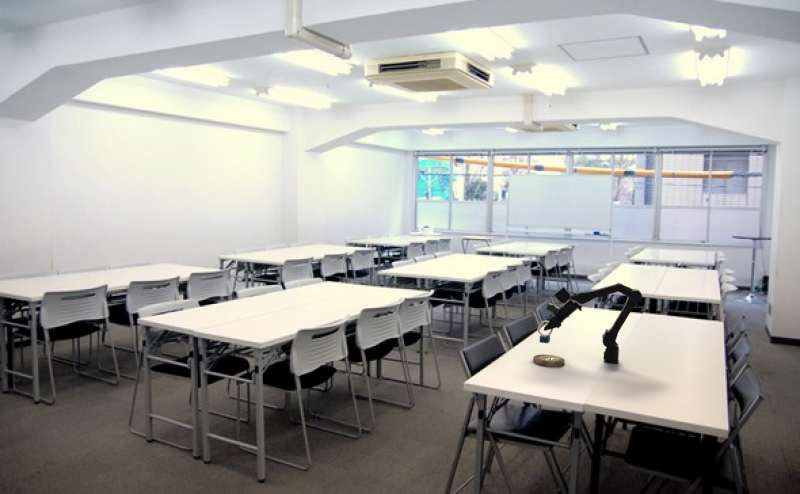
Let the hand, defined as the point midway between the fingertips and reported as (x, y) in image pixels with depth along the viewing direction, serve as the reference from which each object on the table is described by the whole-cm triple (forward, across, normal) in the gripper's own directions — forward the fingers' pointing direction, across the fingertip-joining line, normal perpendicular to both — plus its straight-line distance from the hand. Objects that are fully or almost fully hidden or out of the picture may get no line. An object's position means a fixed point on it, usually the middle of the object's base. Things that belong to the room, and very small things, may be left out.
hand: (544, 329), depth 296 cm
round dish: (+7, +15, +12) cm, 20 cm away
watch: (+5, 0, +5) cm, 7 cm away
